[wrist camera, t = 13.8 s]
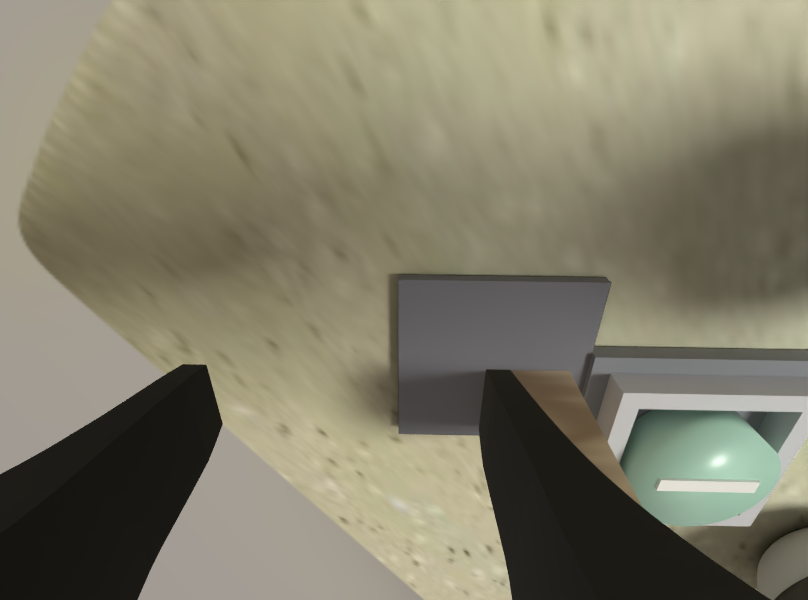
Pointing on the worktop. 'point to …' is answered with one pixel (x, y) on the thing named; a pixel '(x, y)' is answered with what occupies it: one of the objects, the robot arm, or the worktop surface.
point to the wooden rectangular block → (574, 419)
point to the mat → (486, 339)
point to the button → (698, 465)
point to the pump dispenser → (785, 568)
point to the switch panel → (703, 394)
